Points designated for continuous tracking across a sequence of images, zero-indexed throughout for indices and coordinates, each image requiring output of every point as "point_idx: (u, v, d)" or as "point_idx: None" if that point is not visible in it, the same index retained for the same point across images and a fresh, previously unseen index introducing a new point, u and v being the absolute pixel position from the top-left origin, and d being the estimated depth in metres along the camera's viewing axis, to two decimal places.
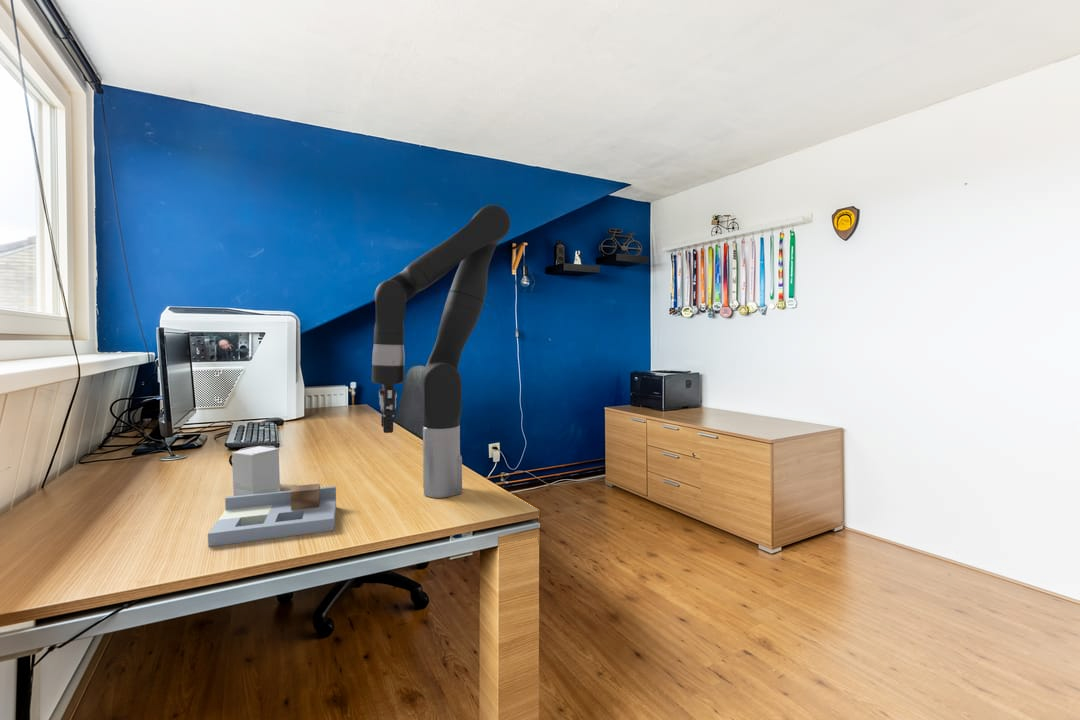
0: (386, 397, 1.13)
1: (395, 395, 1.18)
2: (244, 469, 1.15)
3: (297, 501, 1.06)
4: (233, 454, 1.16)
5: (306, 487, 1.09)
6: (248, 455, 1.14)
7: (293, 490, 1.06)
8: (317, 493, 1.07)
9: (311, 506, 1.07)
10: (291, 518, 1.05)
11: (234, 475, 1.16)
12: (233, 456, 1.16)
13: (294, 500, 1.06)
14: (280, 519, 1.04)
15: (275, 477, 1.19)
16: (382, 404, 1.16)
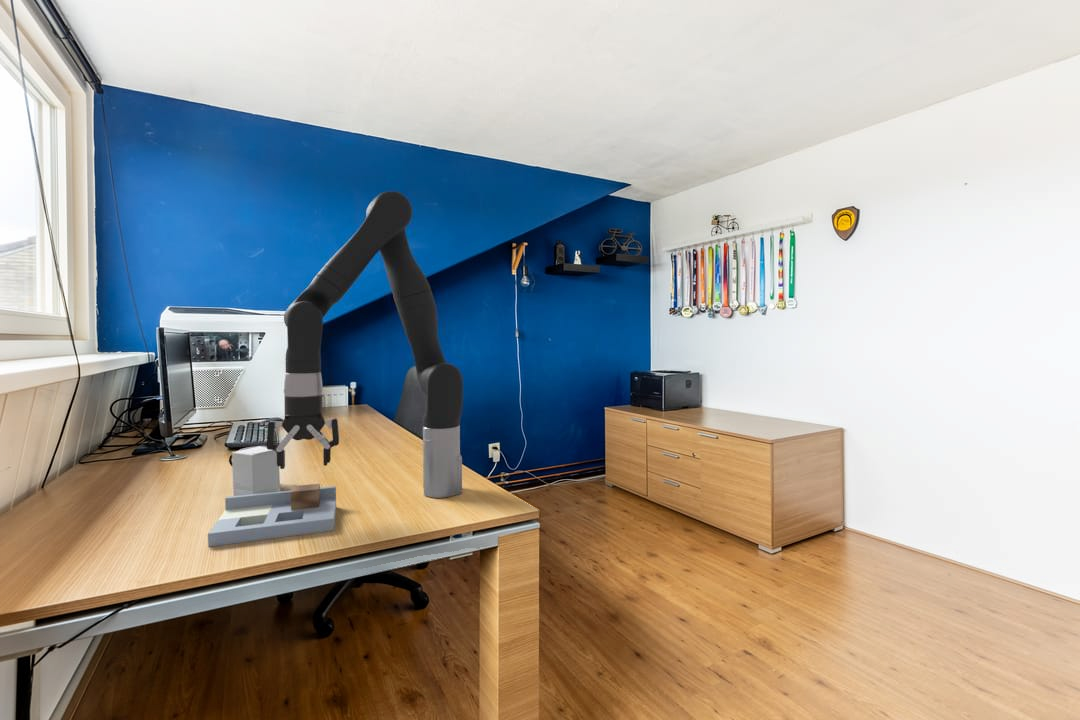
0: (337, 426, 1.10)
1: None
2: (244, 469, 1.15)
3: (297, 501, 1.06)
4: (233, 454, 1.16)
5: (306, 487, 1.09)
6: (248, 455, 1.14)
7: (293, 490, 1.06)
8: (317, 493, 1.07)
9: (311, 506, 1.07)
10: (291, 518, 1.05)
11: (234, 475, 1.16)
12: (233, 456, 1.16)
13: (294, 500, 1.06)
14: (280, 519, 1.04)
15: (275, 477, 1.19)
16: (322, 436, 1.08)
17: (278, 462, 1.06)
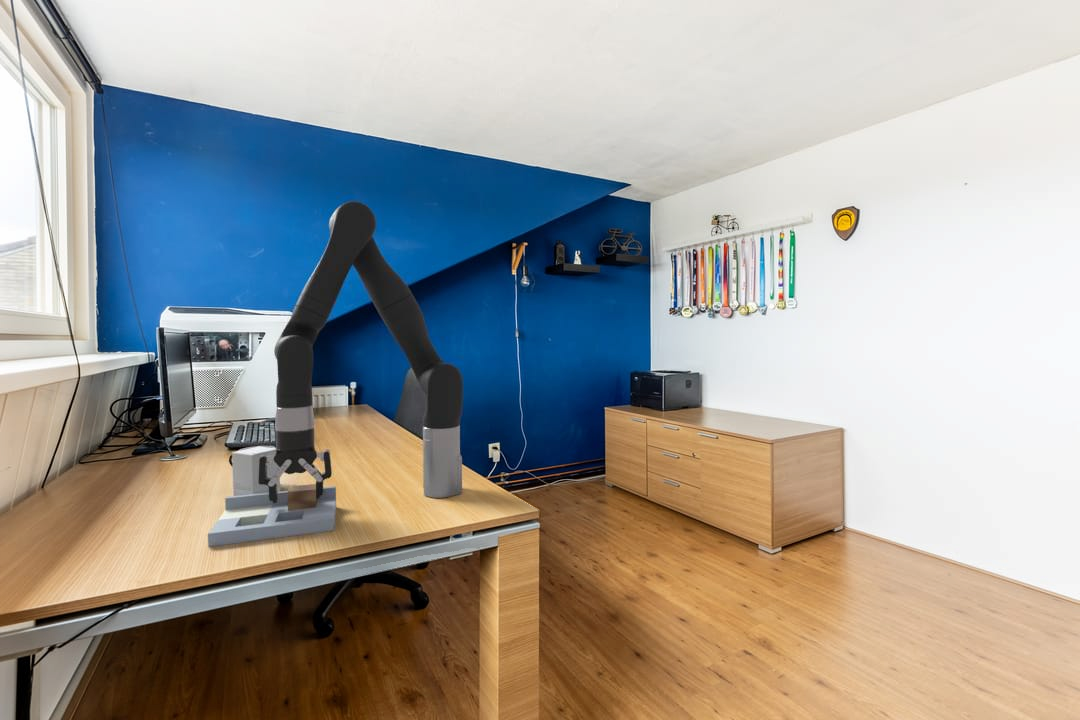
0: (330, 458, 1.09)
1: None
2: (244, 469, 1.15)
3: (294, 502, 1.06)
4: (233, 454, 1.16)
5: (303, 487, 1.08)
6: (248, 455, 1.14)
7: (290, 490, 1.06)
8: (314, 493, 1.07)
9: (308, 506, 1.07)
10: (291, 518, 1.05)
11: (234, 475, 1.16)
12: (233, 456, 1.16)
13: (291, 500, 1.06)
14: (280, 519, 1.04)
15: None
16: (314, 469, 1.08)
17: (270, 496, 1.06)
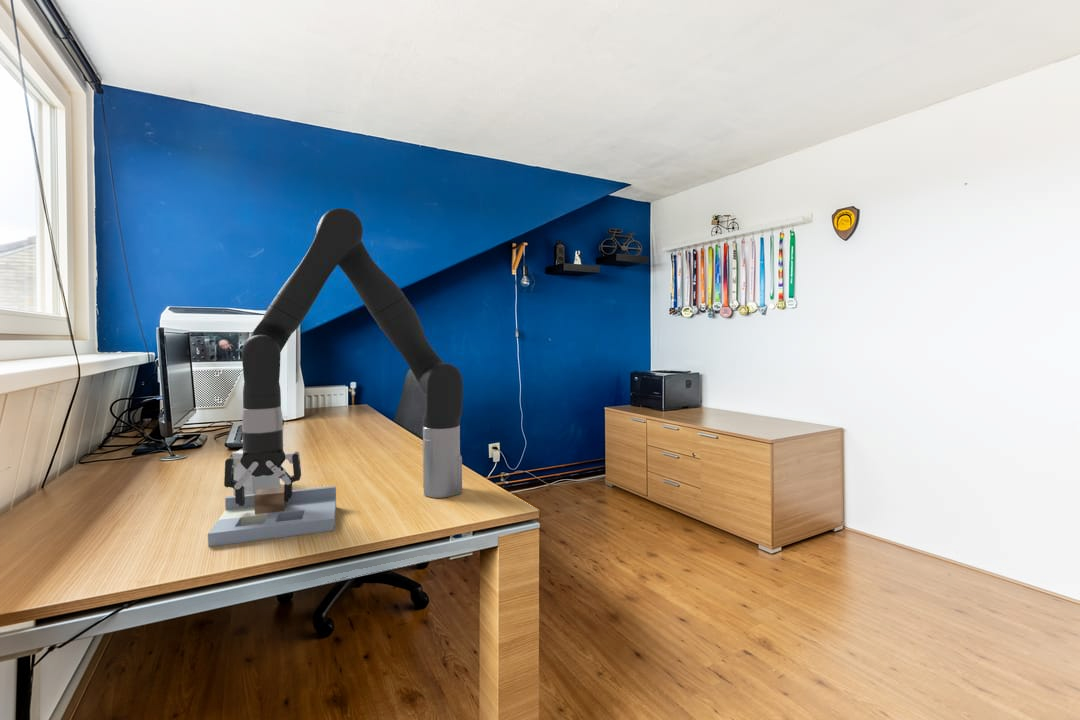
0: (299, 461, 1.07)
1: None
2: (244, 469, 1.15)
3: (261, 505, 1.04)
4: (233, 454, 1.16)
5: (271, 490, 1.06)
6: None
7: (257, 494, 1.04)
8: (282, 497, 1.05)
9: (276, 510, 1.05)
10: (291, 518, 1.05)
11: (234, 475, 1.16)
12: (233, 456, 1.16)
13: (258, 504, 1.03)
14: (280, 519, 1.04)
15: (275, 477, 1.19)
16: (282, 472, 1.05)
17: (237, 499, 1.03)
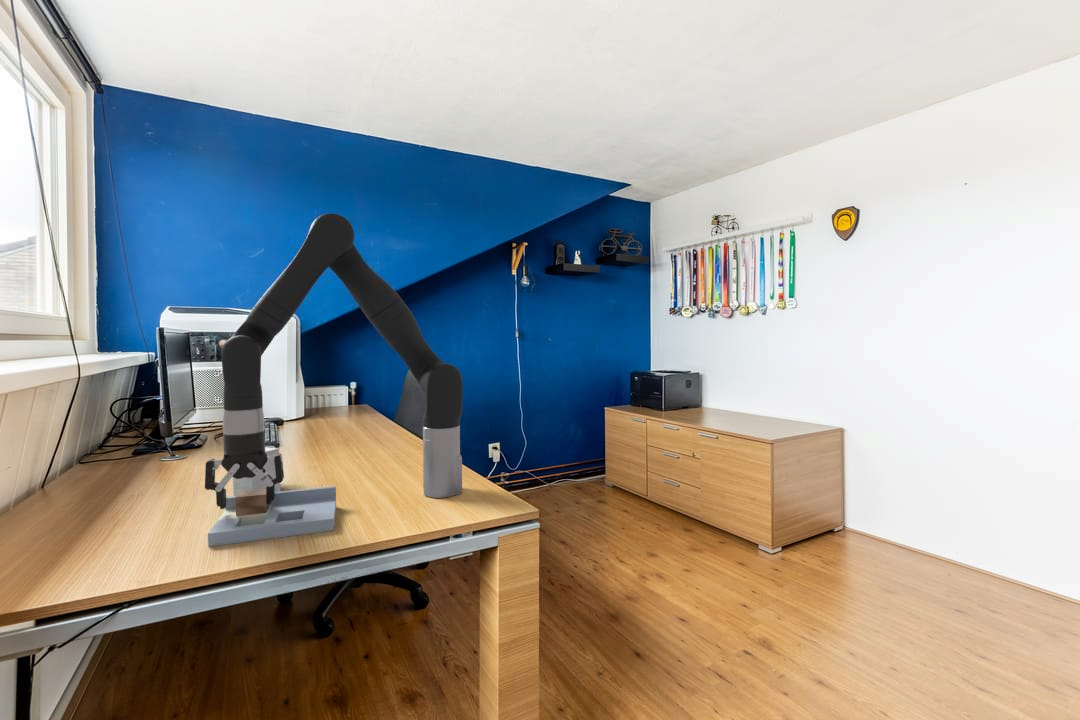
0: (281, 462, 1.06)
1: None
2: None
3: (242, 507, 1.02)
4: None
5: (253, 492, 1.05)
6: None
7: (239, 495, 1.03)
8: (264, 498, 1.04)
9: (257, 512, 1.03)
10: (291, 518, 1.05)
11: None
12: None
13: (240, 506, 1.02)
14: (280, 519, 1.04)
15: None
16: (264, 474, 1.04)
17: (218, 502, 1.02)
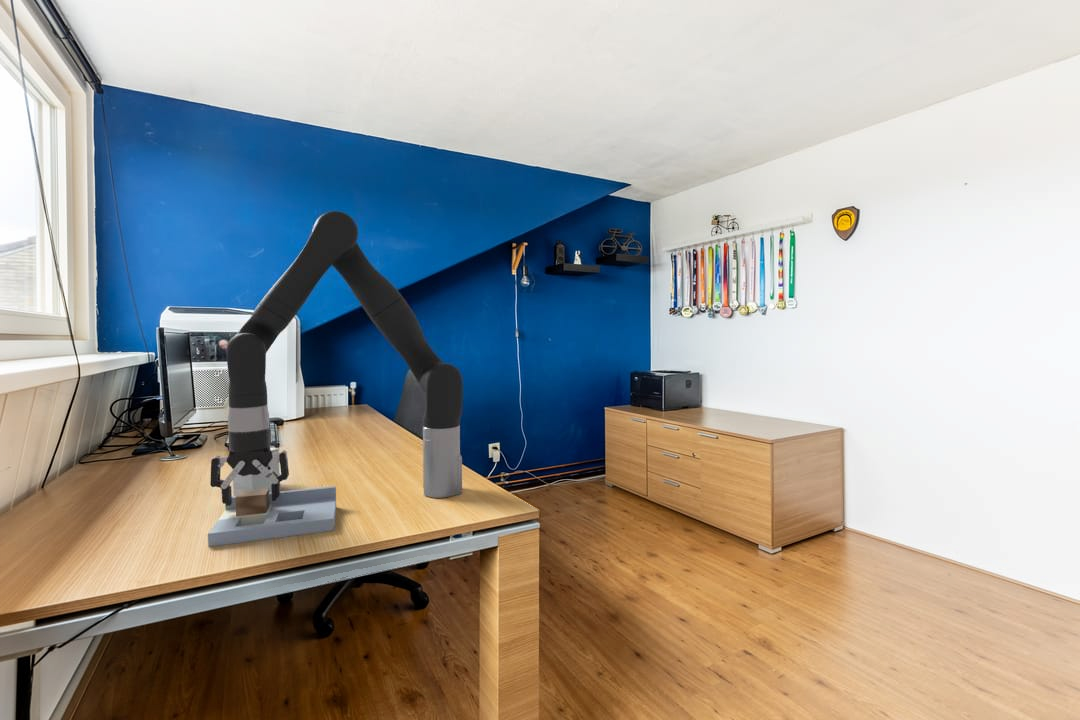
0: (286, 460, 1.06)
1: None
2: None
3: (242, 507, 1.02)
4: None
5: (253, 492, 1.05)
6: None
7: (239, 495, 1.03)
8: (264, 498, 1.04)
9: (257, 512, 1.03)
10: (291, 518, 1.05)
11: None
12: None
13: (240, 506, 1.02)
14: (280, 519, 1.04)
15: None
16: (269, 471, 1.05)
17: (223, 499, 1.02)
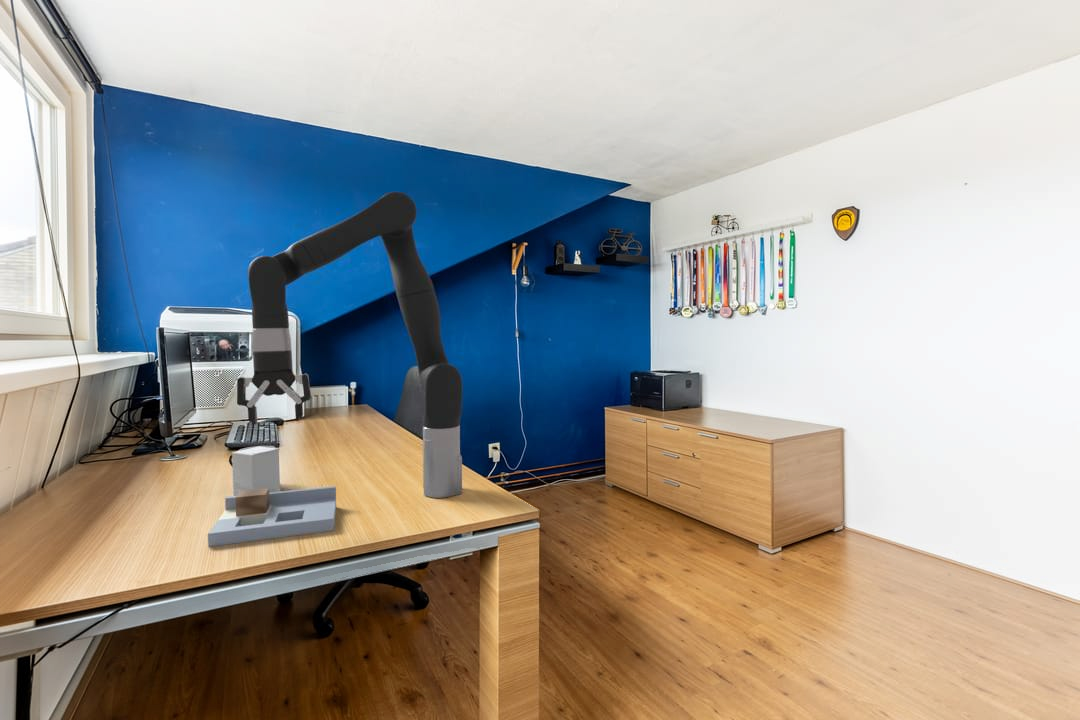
0: (308, 381, 1.10)
1: None
2: (244, 469, 1.15)
3: (242, 507, 1.02)
4: (233, 454, 1.16)
5: (253, 492, 1.05)
6: (248, 455, 1.14)
7: (239, 495, 1.03)
8: (264, 498, 1.04)
9: (257, 512, 1.03)
10: (291, 518, 1.05)
11: (234, 475, 1.16)
12: (233, 456, 1.16)
13: (240, 506, 1.02)
14: (280, 519, 1.04)
15: (275, 477, 1.19)
16: (293, 391, 1.09)
17: (250, 418, 1.07)
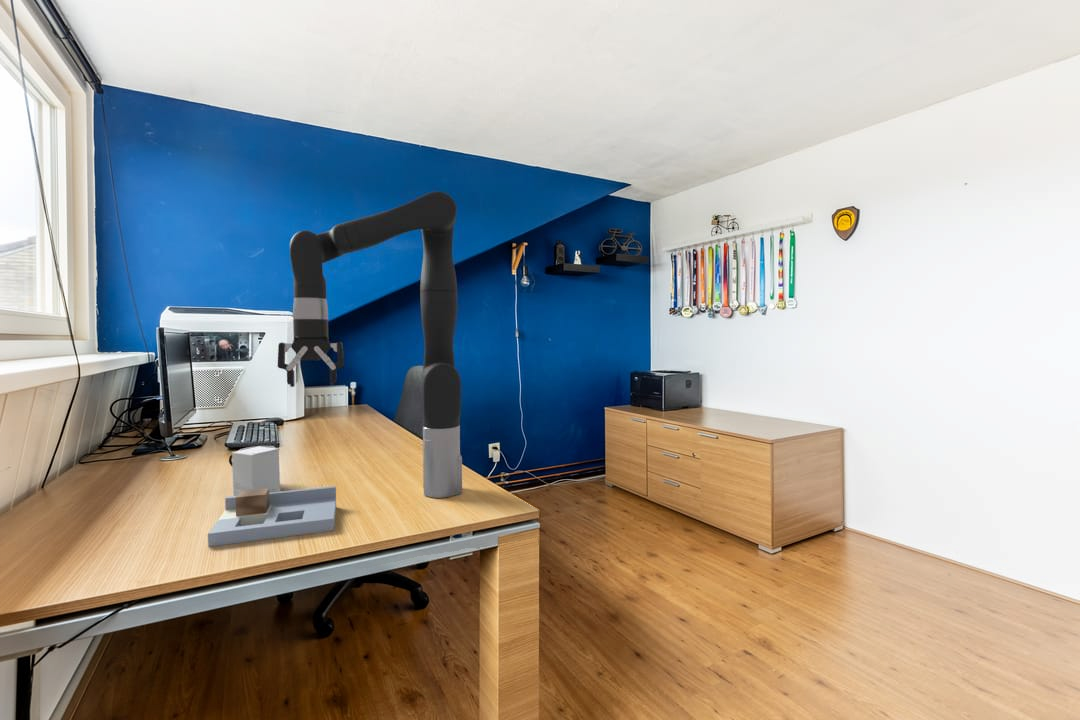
0: (342, 349, 1.19)
1: None
2: (244, 469, 1.15)
3: (242, 507, 1.02)
4: (233, 454, 1.16)
5: (253, 492, 1.05)
6: (248, 455, 1.14)
7: (239, 495, 1.03)
8: (264, 498, 1.04)
9: (257, 512, 1.03)
10: (291, 518, 1.05)
11: (234, 475, 1.16)
12: (233, 456, 1.16)
13: (240, 506, 1.02)
14: (280, 519, 1.04)
15: (275, 477, 1.19)
16: (328, 358, 1.17)
17: (288, 380, 1.15)
